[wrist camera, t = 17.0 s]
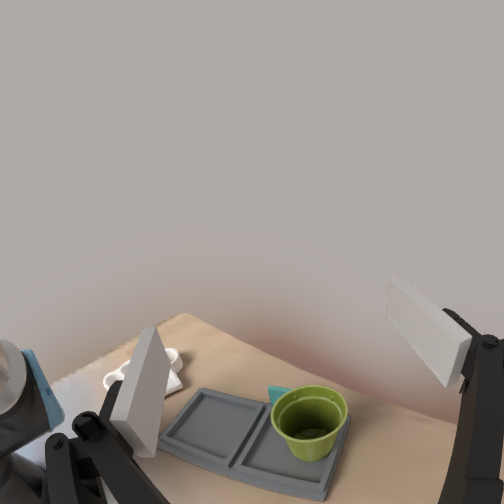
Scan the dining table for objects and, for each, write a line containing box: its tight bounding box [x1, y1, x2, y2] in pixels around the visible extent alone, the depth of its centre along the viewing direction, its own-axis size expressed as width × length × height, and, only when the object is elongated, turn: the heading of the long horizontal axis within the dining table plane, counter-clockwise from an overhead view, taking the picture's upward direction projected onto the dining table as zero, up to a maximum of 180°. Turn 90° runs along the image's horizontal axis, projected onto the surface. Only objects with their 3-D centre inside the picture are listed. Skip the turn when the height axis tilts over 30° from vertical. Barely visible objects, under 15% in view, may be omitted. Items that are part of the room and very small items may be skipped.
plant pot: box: [271, 385, 348, 462], centre depth 33 cm, size 9×9×9 cm
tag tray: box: [157, 385, 351, 502], centre depth 37 cm, size 27×15×6 cm, turn 65°
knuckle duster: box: [103, 348, 183, 396], centre depth 53 cm, size 3×18×15 cm
